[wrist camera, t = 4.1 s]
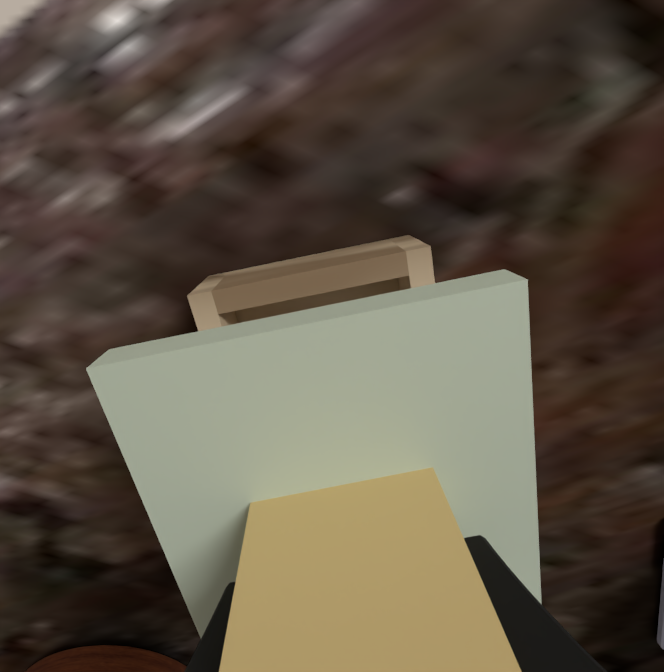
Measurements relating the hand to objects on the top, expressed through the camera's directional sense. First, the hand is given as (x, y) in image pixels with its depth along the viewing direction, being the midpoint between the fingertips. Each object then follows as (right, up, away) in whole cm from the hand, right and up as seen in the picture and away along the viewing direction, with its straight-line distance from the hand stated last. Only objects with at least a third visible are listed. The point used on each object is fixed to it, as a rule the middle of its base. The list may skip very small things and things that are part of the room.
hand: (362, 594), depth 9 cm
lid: (0, +1, +2) cm, 2 cm away
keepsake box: (-1, +3, +10) cm, 10 cm away
